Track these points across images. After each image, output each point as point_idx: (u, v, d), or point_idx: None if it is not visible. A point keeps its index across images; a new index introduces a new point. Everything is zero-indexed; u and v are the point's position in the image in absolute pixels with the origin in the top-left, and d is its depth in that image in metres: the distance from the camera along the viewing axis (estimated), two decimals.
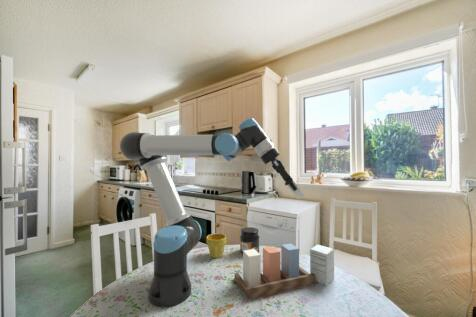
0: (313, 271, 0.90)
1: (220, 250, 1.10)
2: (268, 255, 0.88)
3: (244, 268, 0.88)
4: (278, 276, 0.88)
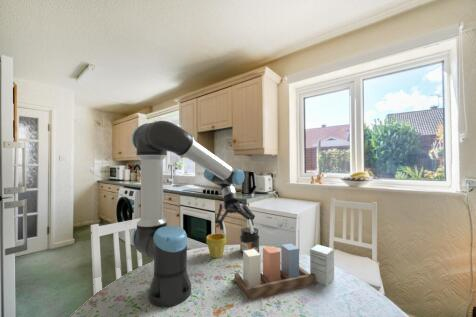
0: (313, 271, 0.90)
1: (220, 250, 1.10)
2: (268, 255, 0.88)
3: (244, 268, 0.88)
4: (278, 276, 0.88)
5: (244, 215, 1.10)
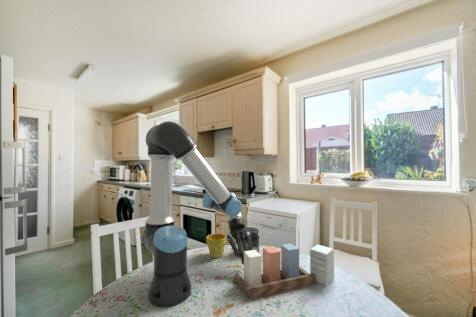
0: (313, 271, 0.90)
1: (220, 250, 1.10)
2: (268, 255, 0.88)
3: (245, 269, 0.87)
4: (278, 276, 0.88)
5: (244, 247, 0.98)
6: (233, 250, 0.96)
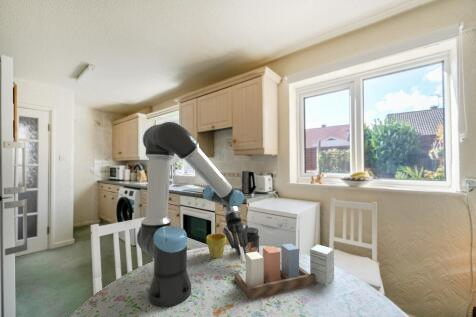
0: (313, 271, 0.90)
1: (220, 250, 1.10)
2: (268, 255, 0.88)
3: (247, 271, 0.85)
4: (278, 276, 0.88)
5: (239, 239, 1.03)
6: (229, 242, 1.01)
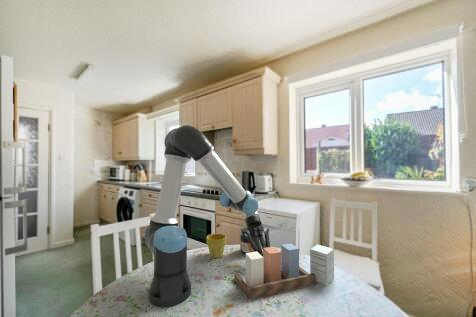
0: (313, 271, 0.90)
1: (220, 250, 1.10)
2: (269, 256, 0.87)
3: (247, 271, 0.85)
4: (279, 277, 0.88)
5: (261, 243, 1.01)
6: (251, 246, 1.00)
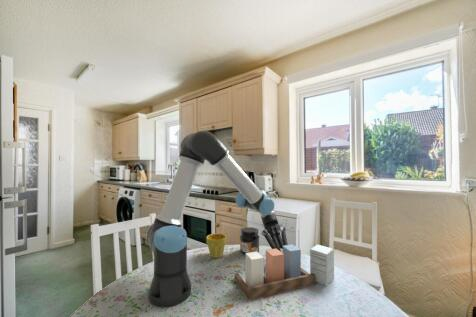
0: (313, 271, 0.90)
1: (220, 250, 1.10)
2: (271, 258, 0.85)
3: (247, 271, 0.85)
4: (281, 279, 0.86)
5: (279, 241, 1.04)
6: (269, 244, 1.02)
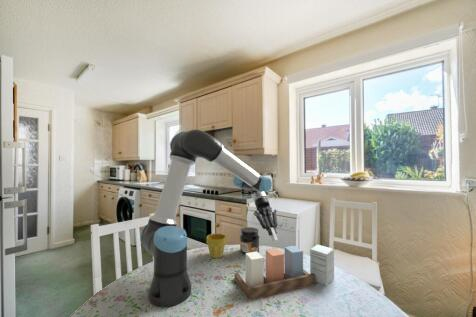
0: (313, 271, 0.90)
1: (220, 250, 1.10)
2: (271, 258, 0.85)
3: (247, 271, 0.85)
4: (281, 279, 0.86)
5: (269, 221, 1.11)
6: (260, 223, 1.10)
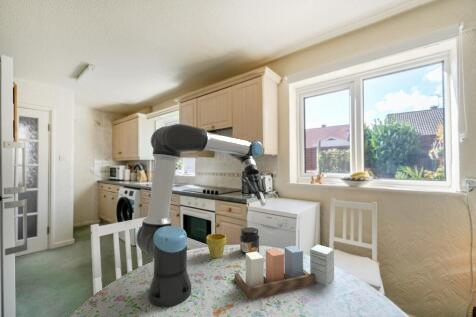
0: (313, 271, 0.90)
1: (220, 250, 1.10)
2: (271, 258, 0.85)
3: (247, 271, 0.85)
4: (281, 279, 0.86)
5: (258, 187, 1.13)
6: (249, 189, 1.12)
